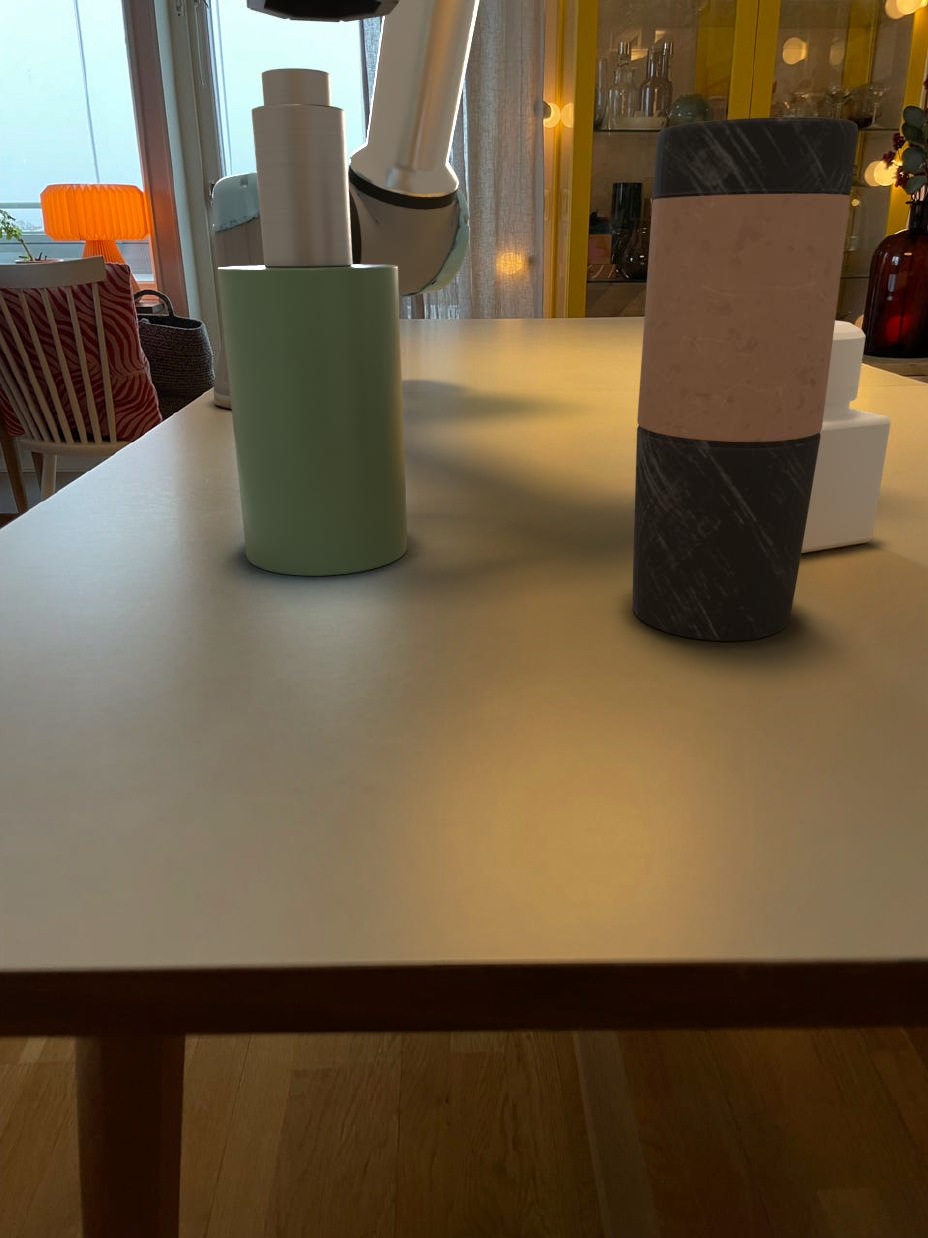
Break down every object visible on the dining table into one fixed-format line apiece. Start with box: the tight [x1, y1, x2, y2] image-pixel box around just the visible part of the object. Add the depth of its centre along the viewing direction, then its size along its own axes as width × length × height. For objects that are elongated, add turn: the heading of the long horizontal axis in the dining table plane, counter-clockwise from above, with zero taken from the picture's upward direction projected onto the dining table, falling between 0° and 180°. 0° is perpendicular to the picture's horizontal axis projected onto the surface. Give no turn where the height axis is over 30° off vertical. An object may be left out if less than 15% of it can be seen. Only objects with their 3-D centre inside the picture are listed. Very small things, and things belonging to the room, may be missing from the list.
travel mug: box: [632, 116, 859, 642], centre depth 40 cm, size 8×8×20 cm
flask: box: [217, 67, 408, 577], centre depth 48 cm, size 9×9×24 cm
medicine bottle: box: [801, 319, 891, 554], centre depth 52 cm, size 7×7×12 cm
